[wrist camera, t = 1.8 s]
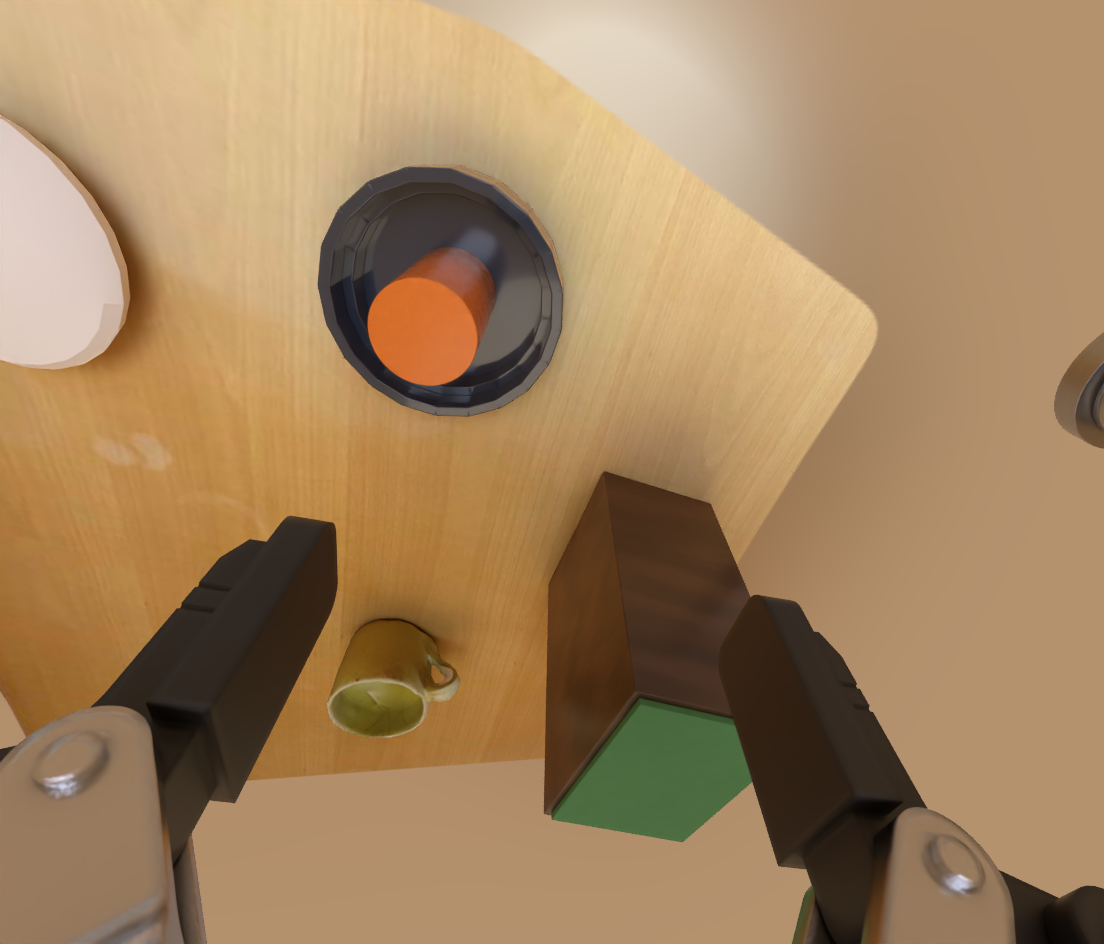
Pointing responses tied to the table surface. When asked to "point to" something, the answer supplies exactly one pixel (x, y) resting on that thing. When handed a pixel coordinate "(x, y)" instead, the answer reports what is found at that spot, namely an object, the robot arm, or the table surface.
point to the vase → (54, 261)
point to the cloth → (659, 773)
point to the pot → (420, 227)
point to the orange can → (433, 317)
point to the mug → (388, 680)
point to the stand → (634, 619)
